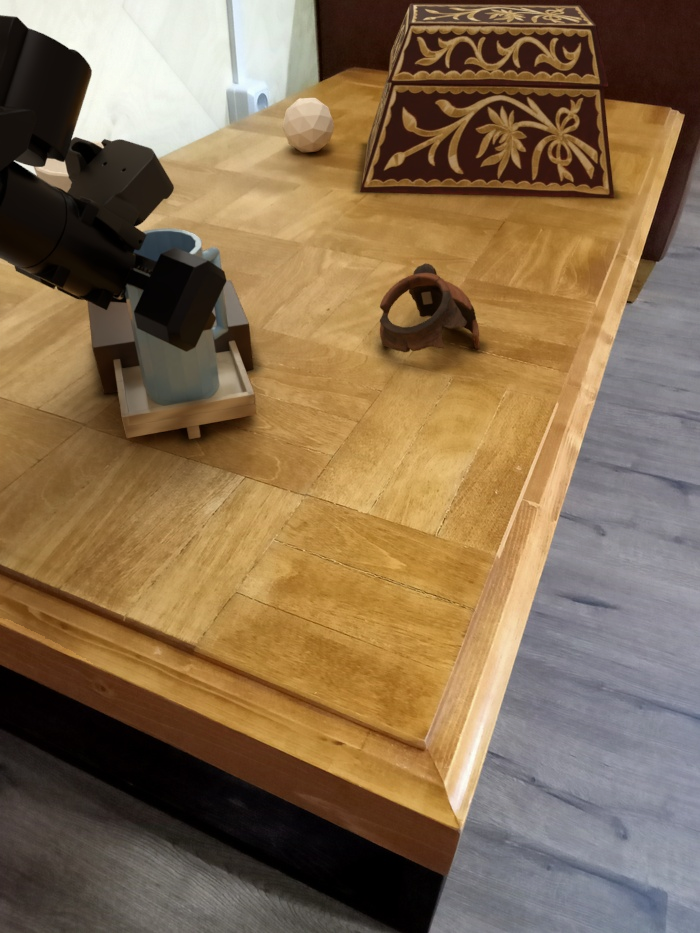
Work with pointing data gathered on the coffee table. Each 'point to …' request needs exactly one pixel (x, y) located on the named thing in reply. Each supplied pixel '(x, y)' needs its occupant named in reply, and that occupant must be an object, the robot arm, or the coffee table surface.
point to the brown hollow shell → (427, 312)
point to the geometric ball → (308, 125)
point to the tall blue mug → (163, 364)
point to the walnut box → (125, 378)
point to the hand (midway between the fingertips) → (183, 310)
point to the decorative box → (492, 104)
